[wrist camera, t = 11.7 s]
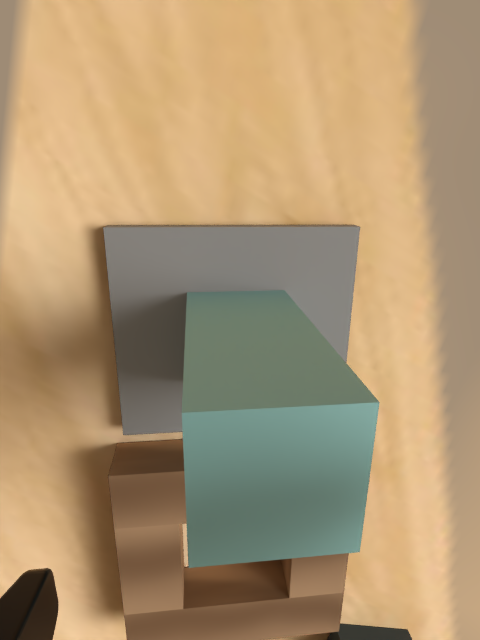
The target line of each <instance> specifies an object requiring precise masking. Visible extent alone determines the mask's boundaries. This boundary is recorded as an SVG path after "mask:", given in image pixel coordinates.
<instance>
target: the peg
mask: <svg viewBox="0 0 480 640" xmlns="http://www.w3.org/2000/svg"><path fill="white" fill-rule="evenodd" d="M378 409H379V401H378V400H377V399H376V398H375V397H374V395H373V394H372V393H371V392H370V391H369V390H368V388H367V387H366V386H365V385H364V384H363V382H362V381H361V380H360V379H359V378H358V377H357V375H356V374H355V373H354V372H353V371H352V369H351V368H350V367H349V366H348V365H347V364H346V362H345V361H344V360H343V359H342V358H341V356H340V355H339V354H338V353H337V352H336V351H335V349H334V348H333V347H332V346H331V345H330V343H329V342H328V341H327V340H326V339H325V338H324V336H323V335H322V334H321V333H320V332H319V330H318V329H317V328H316V327H315V326H314V324H313V323H312V322H311V321H310V320H309V319H308V317H307V316H306V315H305V314H304V313H303V311H302V310H301V309H300V308H299V307H298V306H297V304H296V303H295V302H294V301H293V300H292V298H291V297H290V296H289V295H288V294H287V293H286V291H285V290H272V291H226V292H187V304H186V327H185V350H184V373H183V396H182V430H183V452H184V474H185V497H186V519H187V541H188V564H189V568H194V567H205V566H216V565H226V564H237V563H248V562H258V561H269V560H280V559H291V558H301V557H312V556H323V555H333V554H344V553H355V552H360V545H361V538H362V530H363V523H364V515H365V507H366V500H367V492H368V485H369V477H370V469H371V462H372V454H373V447H374V439H375V432H376V424H377V416H378Z"/></svg>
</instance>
